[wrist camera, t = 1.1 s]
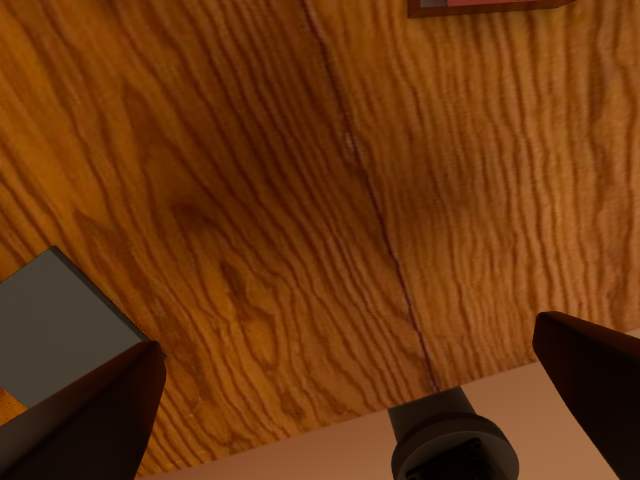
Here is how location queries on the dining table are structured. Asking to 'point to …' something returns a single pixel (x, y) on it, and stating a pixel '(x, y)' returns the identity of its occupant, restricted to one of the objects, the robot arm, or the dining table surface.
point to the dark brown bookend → (475, 7)
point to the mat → (55, 328)
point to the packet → (479, 2)
